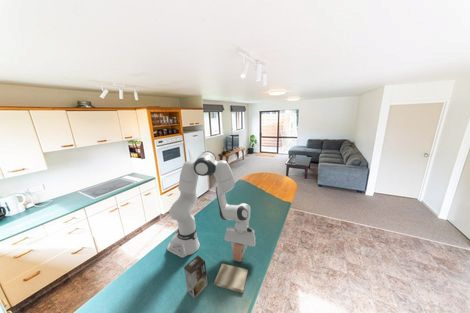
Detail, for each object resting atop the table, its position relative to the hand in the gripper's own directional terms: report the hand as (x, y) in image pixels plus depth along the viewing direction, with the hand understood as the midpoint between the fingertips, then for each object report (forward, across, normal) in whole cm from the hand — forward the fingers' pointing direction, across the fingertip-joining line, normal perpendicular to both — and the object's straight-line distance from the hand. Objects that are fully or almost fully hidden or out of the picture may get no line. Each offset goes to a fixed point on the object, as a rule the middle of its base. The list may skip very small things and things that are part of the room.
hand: (237, 251), depth 104 cm
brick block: (+3, 0, +4) cm, 5 cm away
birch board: (+13, 0, -6) cm, 15 cm away
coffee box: (+21, -16, -12) cm, 29 cm away
